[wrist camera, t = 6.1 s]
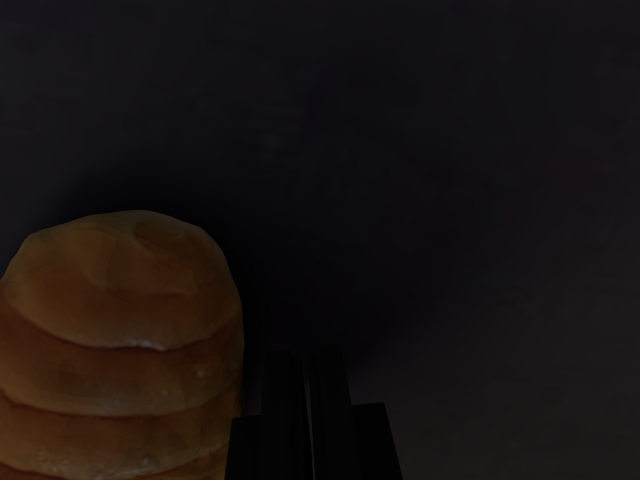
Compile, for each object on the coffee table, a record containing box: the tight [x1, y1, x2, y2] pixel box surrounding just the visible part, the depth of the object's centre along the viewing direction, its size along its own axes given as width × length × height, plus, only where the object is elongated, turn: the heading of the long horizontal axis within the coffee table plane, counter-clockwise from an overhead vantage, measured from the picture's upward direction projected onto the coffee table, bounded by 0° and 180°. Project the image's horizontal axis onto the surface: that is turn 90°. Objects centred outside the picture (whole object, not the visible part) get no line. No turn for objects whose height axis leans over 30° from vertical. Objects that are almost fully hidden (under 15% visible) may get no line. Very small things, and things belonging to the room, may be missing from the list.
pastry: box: [0, 210, 245, 480], centre depth 10 cm, size 9×7×4 cm
